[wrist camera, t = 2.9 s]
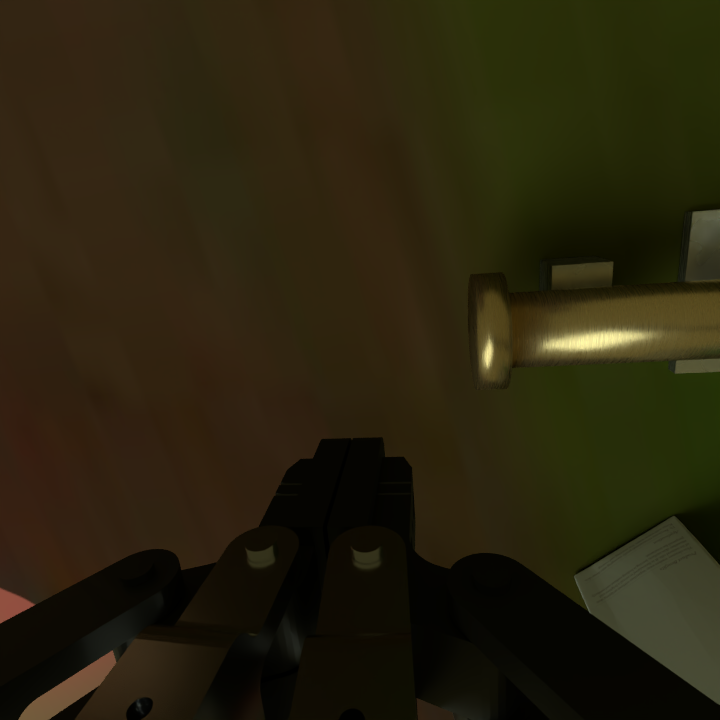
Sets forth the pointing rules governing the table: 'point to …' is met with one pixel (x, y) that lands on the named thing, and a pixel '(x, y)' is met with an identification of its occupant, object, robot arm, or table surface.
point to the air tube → (587, 325)
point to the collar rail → (697, 262)
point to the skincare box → (662, 601)
